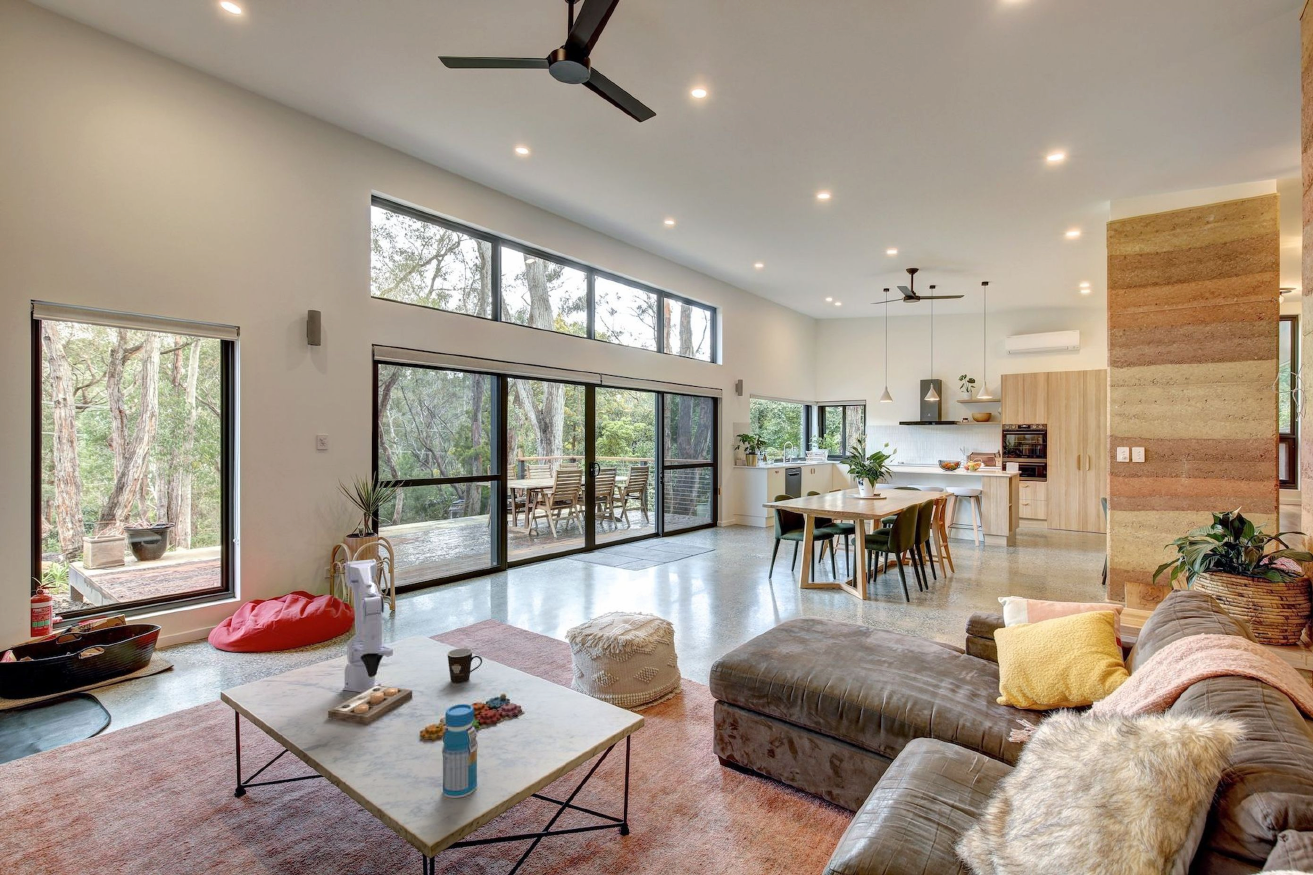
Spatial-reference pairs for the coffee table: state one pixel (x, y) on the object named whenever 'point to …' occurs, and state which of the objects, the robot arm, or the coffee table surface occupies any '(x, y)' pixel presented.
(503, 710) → the gear puzzle
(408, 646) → the coffee table surface
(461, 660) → the coffee mug
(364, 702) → the button board
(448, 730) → the beverage bottle
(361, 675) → the robot arm
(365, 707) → the button
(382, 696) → the button
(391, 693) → the button
